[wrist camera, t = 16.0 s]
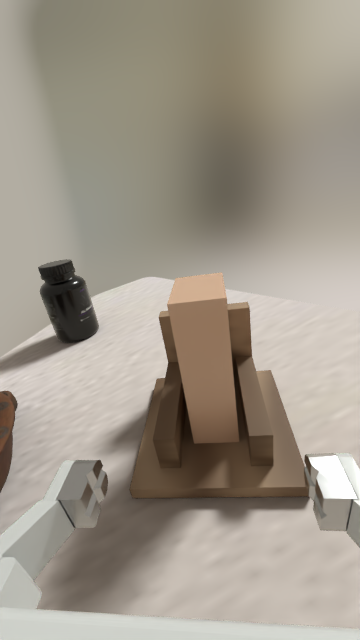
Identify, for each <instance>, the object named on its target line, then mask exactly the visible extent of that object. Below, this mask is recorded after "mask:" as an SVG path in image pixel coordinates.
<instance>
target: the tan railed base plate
mask: <svg viewBox="0 0 360 640" xmlns="http://www.w3.org/2000/svg"><path fill="white" fill-rule="evenodd" d="M227 309H228V320H229V331H230V342H231V354H232V365H233V376H234V388H235V399H236V410H237V421H238V433H239V442H226V443H198V444H194V440H193V435H192V430H191V425H190V420H189V414H188V409H187V404H186V399H185V394H184V389H183V383H182V378H181V373H180V368H179V363H178V357H177V352H176V347H175V342H174V337H173V332H172V326H171V321H170V316H169V311H162V312H160V315H159V321H160V325H161V330H162V335H163V340H164V344H165V349H166V354H167V358H168V367H167V372H166V377H165V378H160V379H157V380H156V384H155V388H154V393H153V397H152V401H151V405H150V409H149V413H148V417H147V421H146V425H145V429H144V433H143V437H142V441H141V445H140V449H139V453H138V457H137V461H136V465H135V469H134V473H133V477H132V481H131V485H130V492H131V495H132V497H133V498H196V497H302V496H309V495H308V492H307V489H306V485H305V480H304V468H305V466H304V464H303V461H302V458H301V455H300V452H299V449H298V446H297V444H296V441H295V438H294V435H293V432H292V429H291V427H290V424H289V421H288V418H287V415H286V412H285V409H284V407H283V404H282V401H281V398H280V395H279V392H278V389H277V387H276V384H275V381H274V378H273V375H272V372H271V370H268V371H256V369H255V366H254V362H253V358H252V349H251V329H250V309H249V305H248V302H243V303H234V304H227Z"/></svg>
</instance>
